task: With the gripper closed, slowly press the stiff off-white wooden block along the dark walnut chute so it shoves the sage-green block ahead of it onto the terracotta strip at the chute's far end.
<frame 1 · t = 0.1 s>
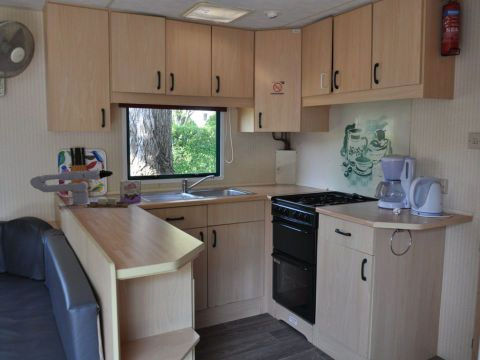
hand: (111, 173, 291), 22 cm above the worktop, tool horizontal, fingers open, 7 cm apart
walnut chute: (108, 207, 282), on the worktop
white block: (102, 202, 281), point 4 cm above the worktop, slide at 0.0 cm
candy box: (130, 204, 302), on the worktop
sage block: (112, 202, 282), point 4 cm above the worktop, slide at 0.0 cm
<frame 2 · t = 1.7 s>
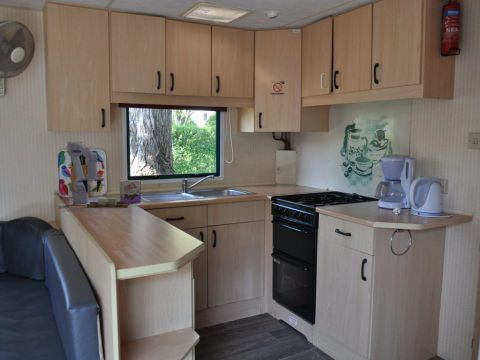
hand: (92, 192, 279), 10 cm above the worktop, tool pointing down, fingers open, 6 cm apart
nothing on the worktop moved.
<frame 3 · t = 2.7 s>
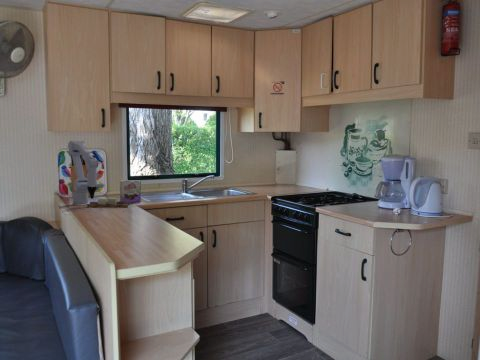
hand: (92, 198, 279), 6 cm above the worktop, tool pointing down, fingers closed
nothing on the worktop moved.
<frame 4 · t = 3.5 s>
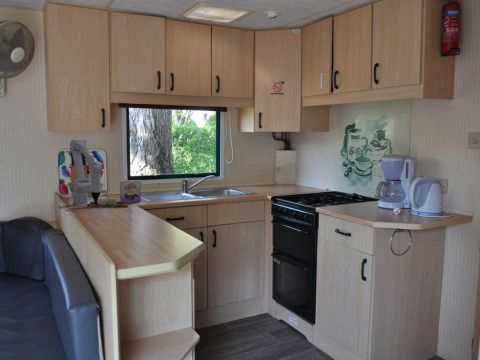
hand: (95, 204, 280), 3 cm above the worktop, tool pointing down, fingers closed
white block: (102, 202, 281), point 4 cm above the worktop, slide at 0.0 cm, touching gripper
everything else where it was.
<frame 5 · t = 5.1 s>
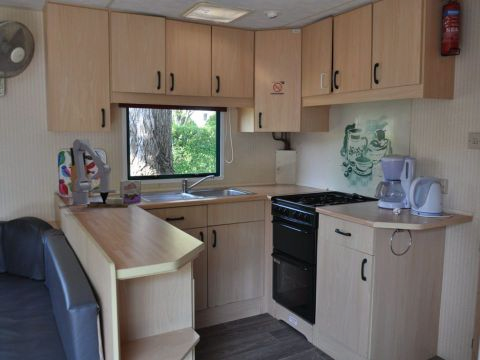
hand: (104, 204, 281), 3 cm above the worktop, tool pointing down, fingers closed
white block: (110, 202, 282), point 4 cm above the worktop, slide at 5.3 cm, touching gripper, sage block
sage block: (118, 202, 283), point 4 cm above the worktop, slide at 4.3 cm, touching white block
everything else where it was.
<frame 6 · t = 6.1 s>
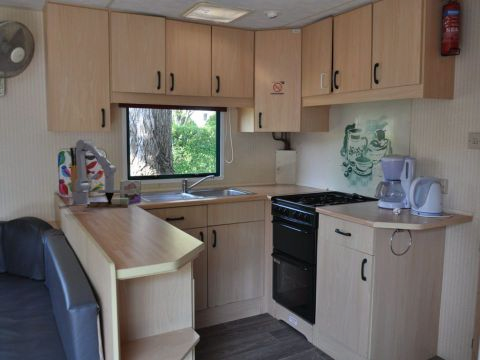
hand: (109, 204, 282), 3 cm above the worktop, tool pointing down, fingers closed
white block: (116, 202, 282), point 4 cm above the worktop, slide at 8.7 cm, touching gripper, sage block
sage block: (124, 202, 283), point 4 cm above the worktop, slide at 7.7 cm, touching white block
everything else where it was.
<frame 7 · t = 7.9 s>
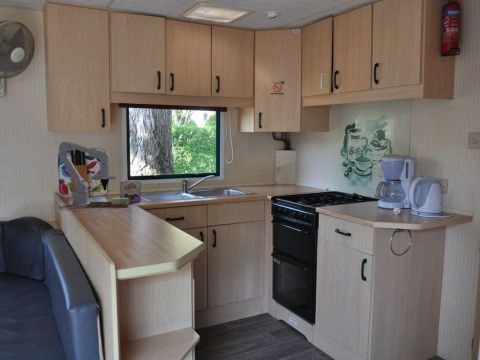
hand: (104, 190, 291), 10 cm above the worktop, tool pointing down, fingers closed
white block: (116, 202, 282), point 4 cm above the worktop, slide at 8.7 cm, touching sage block
everything else where it was.
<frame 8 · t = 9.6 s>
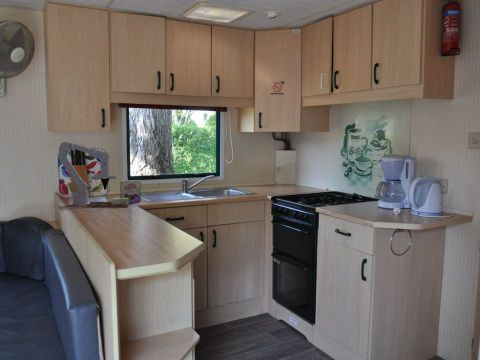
hand: (105, 189, 294), 10 cm above the worktop, tool pointing down, fingers closed
nothing on the worktop moved.
at the end: sage block slide at 7.7 cm; white block slide at 8.7 cm; candy box moved 0.3 cm from its start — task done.
